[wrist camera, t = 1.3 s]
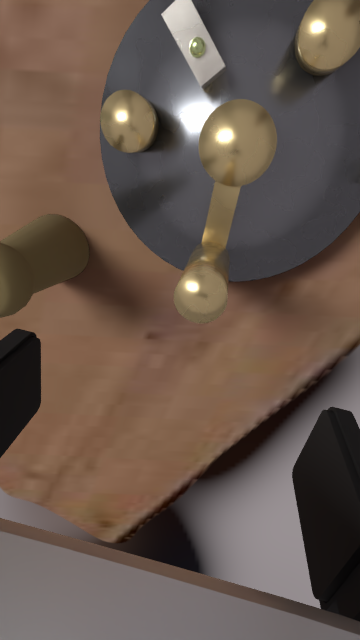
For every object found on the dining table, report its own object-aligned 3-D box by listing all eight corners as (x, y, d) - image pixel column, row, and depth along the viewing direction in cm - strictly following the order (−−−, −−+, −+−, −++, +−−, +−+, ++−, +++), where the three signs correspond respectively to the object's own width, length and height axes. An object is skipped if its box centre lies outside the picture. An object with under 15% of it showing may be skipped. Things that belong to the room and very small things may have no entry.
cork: (99, 236, 30) (31, 274, 20) (76, 289, 32) (7, 346, 23) (38, 200, 29) (-62, 222, 19) (20, 258, 32) (-76, 302, 22)
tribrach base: (122, -61, 21) (101, -103, 18) (442, -4, 20) (485, -37, 17) (100, 246, 30) (83, 257, 27) (318, 296, 29) (329, 314, 26)
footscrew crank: (210, 96, 22) (194, 60, 14) (283, 111, 22) (313, 83, 14) (177, 266, 28) (153, 312, 19) (236, 280, 27) (237, 332, 19)
